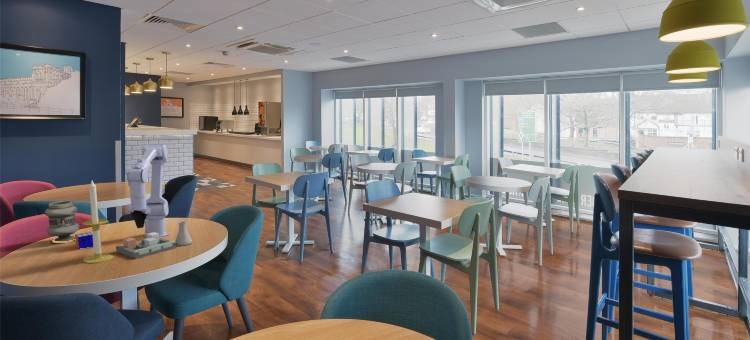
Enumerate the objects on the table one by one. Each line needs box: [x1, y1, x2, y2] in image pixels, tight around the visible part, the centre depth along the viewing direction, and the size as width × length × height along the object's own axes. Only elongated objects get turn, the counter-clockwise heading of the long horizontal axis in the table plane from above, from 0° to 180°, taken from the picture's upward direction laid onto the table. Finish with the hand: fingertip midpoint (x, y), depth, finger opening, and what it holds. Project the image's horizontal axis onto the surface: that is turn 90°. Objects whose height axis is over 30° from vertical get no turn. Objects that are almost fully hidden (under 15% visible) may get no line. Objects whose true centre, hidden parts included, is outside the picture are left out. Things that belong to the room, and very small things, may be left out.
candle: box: [82, 180, 114, 264], centre depth 161 cm, size 10×10×32 cm
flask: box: [174, 221, 193, 246], centre depth 183 cm, size 7×7×10 cm
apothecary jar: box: [44, 200, 81, 241], centre depth 185 cm, size 12×12×18 cm
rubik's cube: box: [74, 231, 94, 250], centre depth 178 cm, size 6×6×6 cm
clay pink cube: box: [122, 237, 137, 249], centre depth 172 cm, size 4×3×4 cm
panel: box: [115, 237, 177, 260], centre depth 175 cm, size 16×17×3 cm
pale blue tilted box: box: [144, 238, 157, 247], centre depth 172 cm, size 4×3×4 cm
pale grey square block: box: [146, 232, 160, 243], centre depth 180 cm, size 4×3×4 cm
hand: (140, 227), depth 175 cm, fingers closed
